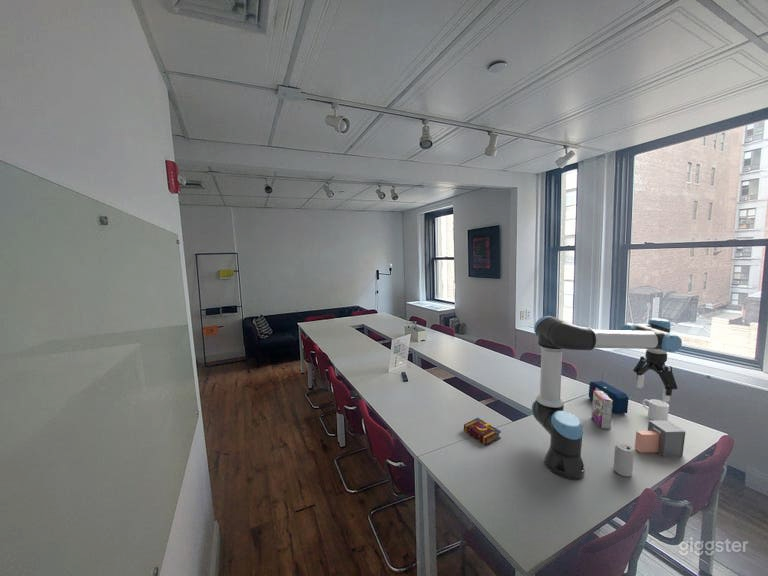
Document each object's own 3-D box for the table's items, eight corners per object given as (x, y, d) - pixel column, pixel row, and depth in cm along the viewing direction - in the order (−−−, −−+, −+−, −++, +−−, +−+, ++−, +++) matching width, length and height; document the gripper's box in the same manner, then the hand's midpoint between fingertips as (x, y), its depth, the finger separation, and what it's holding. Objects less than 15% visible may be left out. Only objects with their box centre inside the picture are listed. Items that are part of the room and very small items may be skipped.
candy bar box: (590, 417, 172) (592, 390, 170) (600, 417, 171) (602, 390, 169) (600, 428, 161) (603, 399, 159) (611, 429, 160) (613, 400, 158)
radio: (586, 398, 193) (588, 368, 191) (598, 397, 194) (601, 367, 192) (614, 416, 173) (617, 383, 170) (628, 415, 174) (631, 382, 171)
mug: (644, 410, 178) (646, 395, 177) (670, 421, 167) (672, 404, 166) (636, 413, 175) (638, 397, 173) (662, 424, 164) (664, 407, 162)
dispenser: (663, 456, 139) (666, 431, 138) (646, 444, 148) (648, 420, 147) (682, 456, 139) (685, 431, 138) (664, 443, 148) (666, 420, 147)
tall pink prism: (640, 452, 142) (641, 434, 141) (634, 448, 145) (636, 430, 144) (673, 451, 142) (675, 433, 141) (667, 447, 145) (669, 430, 144)
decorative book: (486, 447, 149) (486, 437, 148) (461, 430, 162) (461, 422, 162) (500, 439, 155) (501, 430, 154) (476, 423, 168) (476, 415, 168)
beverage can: (633, 480, 126) (635, 453, 125) (613, 474, 129) (616, 448, 128) (630, 470, 131) (633, 445, 130) (612, 465, 135) (614, 440, 133)
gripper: (692, 361, 129) (686, 407, 132) (641, 342, 154) (637, 382, 156) (674, 361, 129) (669, 408, 131) (626, 343, 153) (623, 382, 156)
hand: (652, 394), depth 144 cm, fingers open, 13 cm apart
